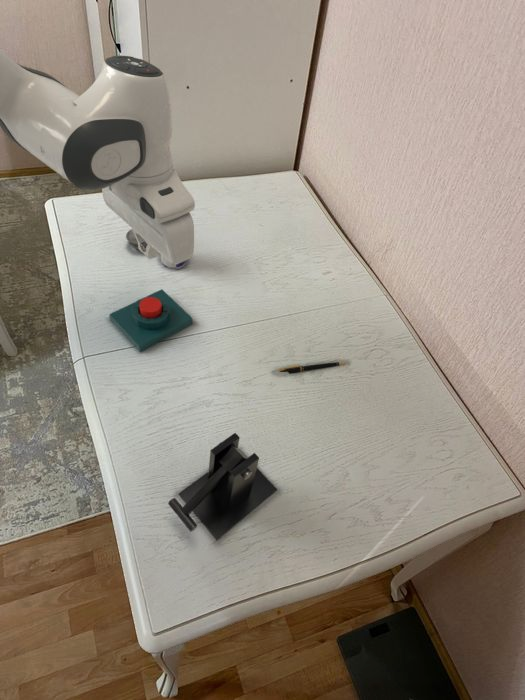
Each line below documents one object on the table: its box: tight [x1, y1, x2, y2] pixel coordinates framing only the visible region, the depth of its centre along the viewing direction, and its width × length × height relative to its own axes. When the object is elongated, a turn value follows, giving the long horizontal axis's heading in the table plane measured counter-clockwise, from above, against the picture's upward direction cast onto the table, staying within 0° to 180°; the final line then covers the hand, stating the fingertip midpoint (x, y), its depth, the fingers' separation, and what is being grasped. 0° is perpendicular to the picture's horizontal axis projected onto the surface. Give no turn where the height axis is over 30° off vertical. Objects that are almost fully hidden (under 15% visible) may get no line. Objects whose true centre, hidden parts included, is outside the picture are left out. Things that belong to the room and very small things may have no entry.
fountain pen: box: [278, 361, 345, 375], centre depth 94 cm, size 14×1×2 cm, turn 105°
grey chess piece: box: [125, 228, 140, 251], centre depth 107 cm, size 6×6×12 cm
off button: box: [139, 296, 162, 319], centre depth 94 cm, size 4×4×2 cm
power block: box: [108, 289, 193, 353], centre depth 96 cm, size 12×10×4 cm
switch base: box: [178, 432, 278, 541], centre depth 72 cm, size 12×9×13 cm
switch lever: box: [167, 447, 248, 533], centre depth 68 cm, size 12×5×2 cm
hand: (148, 253), depth 84 cm, fingers closed
